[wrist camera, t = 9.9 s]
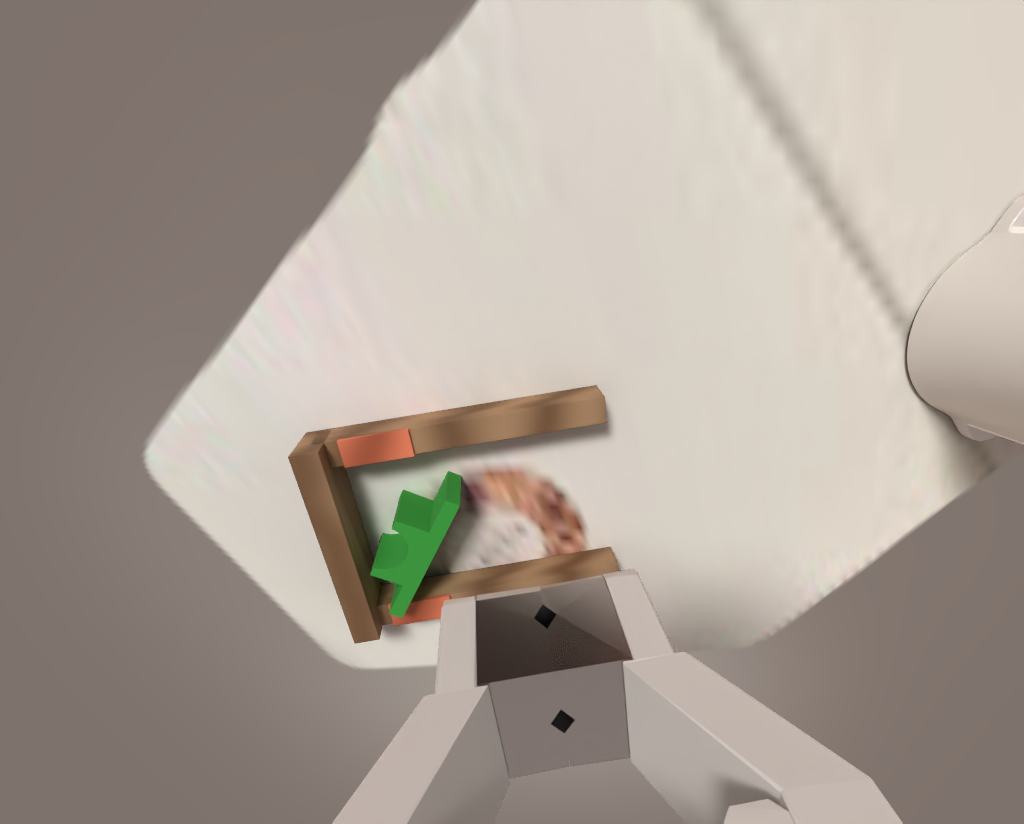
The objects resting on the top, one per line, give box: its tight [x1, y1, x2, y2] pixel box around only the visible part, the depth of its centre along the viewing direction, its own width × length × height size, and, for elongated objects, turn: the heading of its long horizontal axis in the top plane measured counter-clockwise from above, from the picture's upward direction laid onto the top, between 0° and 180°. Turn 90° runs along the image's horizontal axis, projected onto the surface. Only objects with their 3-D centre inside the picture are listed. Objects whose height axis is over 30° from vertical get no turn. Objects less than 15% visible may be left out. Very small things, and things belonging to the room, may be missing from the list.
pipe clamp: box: [370, 471, 461, 618], centre depth 39 cm, size 11×4×5 cm, turn 154°
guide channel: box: [288, 385, 618, 643], centre depth 39 cm, size 22×17×4 cm
